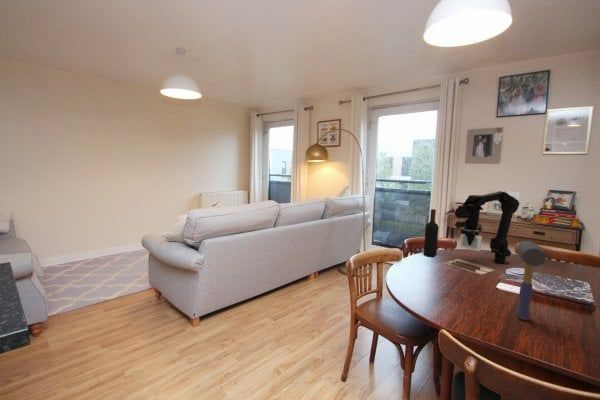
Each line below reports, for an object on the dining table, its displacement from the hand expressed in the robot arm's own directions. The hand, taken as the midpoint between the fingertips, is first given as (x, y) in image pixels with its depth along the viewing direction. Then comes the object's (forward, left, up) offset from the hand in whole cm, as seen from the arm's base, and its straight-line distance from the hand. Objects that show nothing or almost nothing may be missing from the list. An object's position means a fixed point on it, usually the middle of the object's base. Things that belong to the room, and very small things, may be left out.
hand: (470, 244), depth 168 cm
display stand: (+1, +1, -13) cm, 13 cm away
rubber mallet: (+38, +42, -14) cm, 58 cm away
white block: (0, 0, -2) cm, 2 cm away
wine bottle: (0, -24, -14) cm, 28 cm away
